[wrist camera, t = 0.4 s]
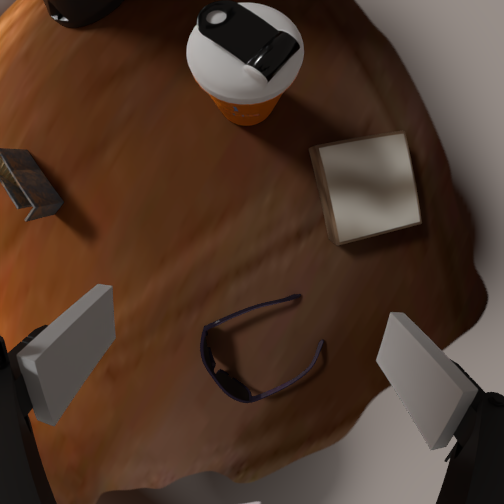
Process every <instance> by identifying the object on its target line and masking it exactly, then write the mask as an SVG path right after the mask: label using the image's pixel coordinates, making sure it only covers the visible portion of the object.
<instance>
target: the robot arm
mask: <svg viewBox="0 0 504 504" xmlns="http://www.w3.org/2000/svg"><path fill="white" fill-rule="evenodd" d="M43 1H44V3H45V5H46V8H47V10H48V12H49V15H50V16H51V17H52V18H53V19H54V20H55V21H56V22H58V23H59V24H60V25H62V26H65V27H70V28H75V27H82V26H85V25H88V24H91V23H93V22H96V21H98V20H100V19H101V18H103V17H105V16H106V15H108V14H109V13H110V12H112V11H113V10H114V9H115V8H117V7H118V6H119V5H120V4H121V3H122V2H123V1H124V0H43ZM115 338H116V337H115V324H114V309H113V289H112V286H109V285H102V284H97V285H96V286H95V287H94V288H92V289H91V290H90V291H89V292H88V293H86V294H85V295H84V296H83V297H82V298H80V299H79V300H78V301H77V302H76V303H74V304H73V305H72V306H71V307H70V308H69V309H67V310H66V311H65V312H64V313H63V314H61V315H60V316H59V317H58V318H57V319H56V320H55V321H53V322H52V323H51V324H50V325H49V326H48V325H44V326H42V327H39V328H37V329H35V330H34V331H33V332H31V333H30V334H29V335H28V337H26V338H24V339H23V340H22V342H20V343H19V344H18V345H17V346H15V347H14V348H13V349H12V350H11V351H10V352H9V353H7V350H6V346H5V342H4V339H3V337H1V336H0V504H57V503H56V501H55V498H54V496H53V493H52V491H51V488H50V485H49V482H48V480H47V477H46V474H45V471H44V468H43V465H42V462H41V459H40V455H39V452H38V449H37V445H36V442H35V438H34V434H33V430H32V426H31V422H30V419H29V417H28V413H29V412H30V410H31V409H32V408H33V410H34V413H35V415H36V418H37V420H39V421H42V422H44V423H47V424H49V425H52V426H55V425H56V423H57V422H58V420H59V419H60V417H61V416H62V414H63V413H64V411H65V410H66V408H67V407H68V405H69V404H70V402H71V401H72V399H73V398H74V396H75V395H76V393H77V392H78V391H79V389H80V388H81V386H82V385H83V383H84V382H85V380H86V379H87V377H88V376H89V375H90V373H91V372H92V370H93V369H94V367H95V366H96V365H97V363H98V362H99V360H100V359H101V358H102V356H103V355H104V353H105V352H106V351H107V349H108V348H109V346H110V345H111V344H112V342H113V341H114V340H115ZM376 361H377V363H378V364H379V366H380V367H381V369H382V371H383V372H384V374H385V375H386V377H387V379H388V380H389V382H390V383H391V385H392V387H393V388H394V390H395V391H396V393H397V395H398V396H399V397H400V399H401V401H402V403H403V404H404V406H405V407H406V409H407V411H408V413H409V414H410V416H411V417H412V419H413V421H414V422H415V424H416V426H417V427H418V429H419V431H420V433H421V434H422V436H423V438H424V439H425V441H426V443H427V444H428V446H429V448H430V449H431V450H434V449H438V448H442V447H446V446H447V445H448V443H449V441H450V440H451V438H452V437H453V435H454V436H455V438H456V439H457V442H456V444H455V446H454V447H453V449H452V450H451V452H450V453H449V455H448V456H447V458H446V459H445V462H447V461H448V459H449V458H450V462H449V465H448V468H447V472H446V475H445V478H444V482H443V485H442V488H441V491H440V493H439V496H438V499H437V502H436V504H504V396H503V395H501V394H499V393H495V392H487V393H485V392H484V391H483V390H482V389H481V388H480V387H479V385H478V384H477V383H476V382H475V381H474V380H473V379H472V378H470V376H469V375H468V374H467V373H466V372H465V371H464V370H463V369H462V368H461V366H459V364H457V363H455V362H454V361H452V360H451V359H449V358H448V357H447V356H446V355H445V354H444V353H443V352H442V351H441V350H440V349H439V348H438V347H437V346H436V345H435V344H434V342H433V341H432V340H431V339H430V338H429V337H428V336H427V335H426V334H425V333H424V332H423V331H422V330H421V329H420V328H419V327H418V326H417V325H416V324H414V323H413V322H412V321H411V320H410V319H409V318H408V317H407V316H406V315H405V314H404V313H396V312H390V316H389V319H388V323H387V327H386V330H385V333H384V337H383V340H382V343H381V347H380V350H379V353H378V356H377V359H376Z"/></svg>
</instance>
